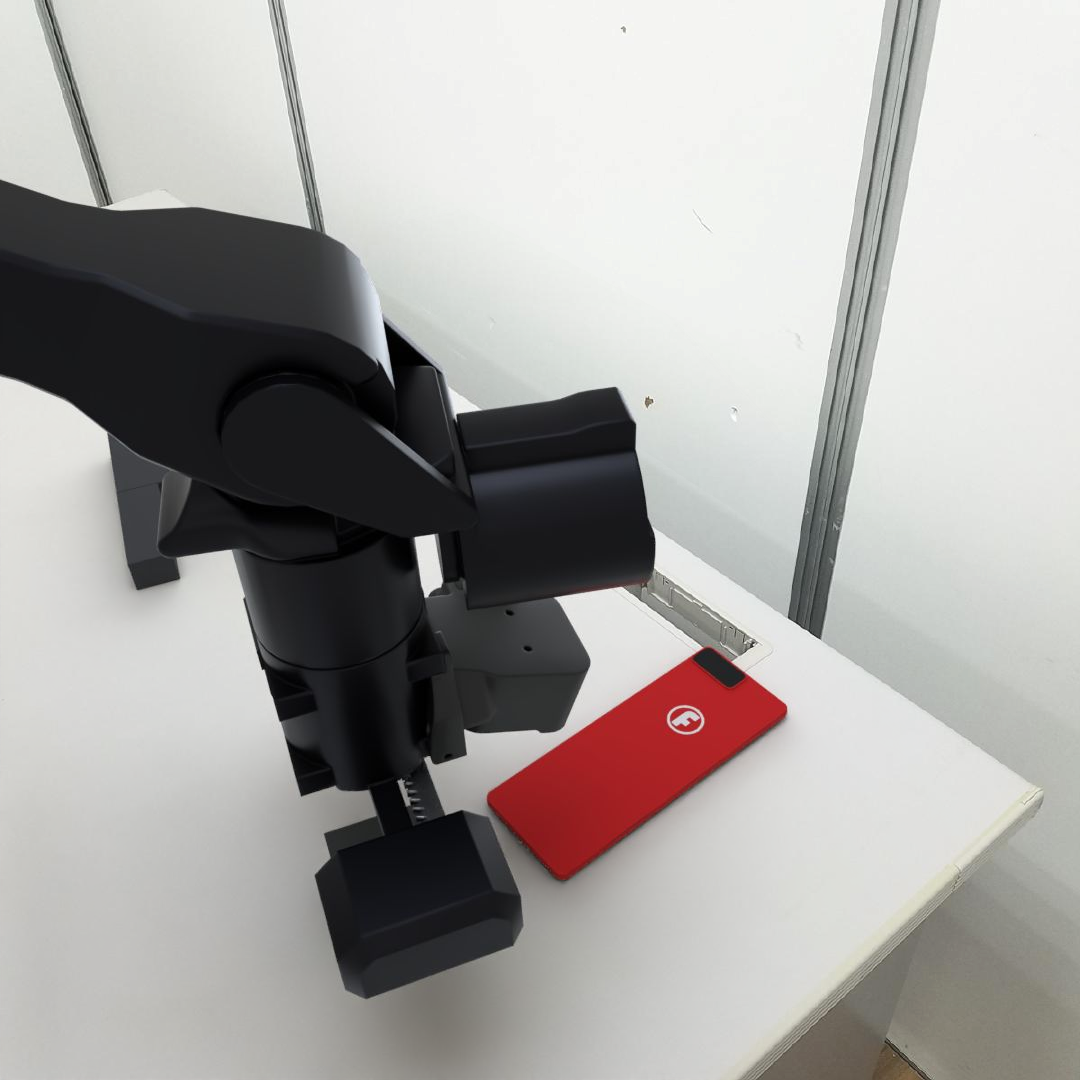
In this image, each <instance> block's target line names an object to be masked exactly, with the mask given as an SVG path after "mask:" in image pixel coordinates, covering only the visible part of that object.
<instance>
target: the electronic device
mask: <svg viewBox="0 0 1080 1080" xmlns="http://www.w3.org/2000/svg"><path fill="white" fill-rule="evenodd" d="M787 715H788V705H787V704H786V702H784V701H782V699H780V698H778V696H776V695H775V694H774V693H772V692H771V691H770V690H768V689H767V688H766V687H764V685H762V684H761V683H759V682H758V681H757V680H755V679H754V678H753V677H752V676H750V675H749V674H747V673H746V671H744V670H742V669H741V668H740V667H739V666H737V665H736V664H735V663H733V662H732V661H731V660H730V659H729V658H728V657H726V656H725V655H723V654H722V653H721V652H720V651H718V650H717V649H715V648H714V647H712V646H705V647H702V648H701V649H699V650H698V651H696V652H695V653H693V654H692V655H690V656H689V657H687V658H686V659H684V660H683V661H681V662H680V663H679V664H677V665H676V666H674V667H672V668H671V669H669V670H668V671H667V672H665V673H664V674H662V675H660V676H659V677H658V678H656V679H655V680H653V681H652V682H650V683H648V684H647V685H646V686H644V687H643V688H641V689H640V690H639V691H637V692H636V693H634V694H632V695H630V696H629V697H628V698H626V699H625V700H623V701H622V702H620V703H619V704H618V705H616V706H615V707H613V708H612V709H610V710H608V711H607V712H606V713H604V714H603V715H601V716H600V717H598V718H597V719H595V720H594V721H592V722H591V723H589V724H588V725H586V726H585V727H583V728H582V729H581V730H579V731H577V732H576V733H574V734H572V736H570V737H568V738H567V739H565V740H563V741H562V742H561V743H560V744H558V745H556V746H555V747H554V748H552V749H551V750H549V751H547V752H546V753H545V754H543V755H541V756H540V757H539V758H537V759H535V760H534V761H532V762H531V763H530V764H528V765H527V766H525V767H524V768H522V769H521V770H519V771H518V772H516V773H515V774H513V775H512V776H510V777H509V778H507V779H506V780H504V781H503V782H501V783H500V784H499V785H497V786H495V787H494V788H492V789H491V790H489V791H488V793H487V795H486V803H487V806H488V808H490V809H491V810H492V811H493V812H494V814H495V815H496V816H497V817H498V818H499V819H500V820H501V821H502V822H503V823H504V824H505V826H506V827H508V829H509V830H511V832H512V833H513V834H514V835H515V836H516V837H517V838H518V839H519V840H520V841H521V843H523V844H524V845H525V847H527V849H528V850H529V851H530V852H531V853H532V854H533V855H534V857H536V859H538V860H539V861H540V862H541V864H542V865H543V866H544V867H545V868H546V869H547V870H548V871H549V872H550V873H551V875H553V876H554V878H556V879H557V880H560V881H566V880H569V879H570V878H571V877H572V876H574V875H576V874H577V873H578V872H579V871H581V870H582V869H583V868H585V867H586V866H588V865H589V864H590V863H592V862H593V861H594V860H595V859H598V857H600V856H601V855H603V853H606V852H607V850H609V849H610V848H612V847H613V846H614V845H616V844H617V843H618V842H620V841H621V840H622V839H624V838H625V837H626V836H628V835H629V834H630V833H632V832H633V831H634V830H636V829H637V828H639V826H641V825H642V824H644V823H645V822H646V821H649V819H650V818H653V816H654V815H656V814H657V813H658V812H660V811H661V810H662V809H664V808H665V807H667V806H668V805H670V804H671V803H672V802H673V801H675V800H676V799H677V798H679V797H680V796H681V795H683V794H685V792H687V791H688V790H689V789H691V788H692V787H694V786H695V785H697V784H698V783H699V782H700V781H701V780H703V779H704V778H706V777H707V776H708V775H710V774H711V773H712V772H714V771H715V770H716V769H718V768H719V767H720V766H722V765H723V764H724V763H726V762H727V761H728V760H730V759H731V758H732V757H734V756H735V755H736V754H738V753H739V752H741V751H742V750H743V749H744V748H746V747H747V746H749V745H750V744H752V743H753V742H754V741H755V740H756V739H758V738H759V737H761V736H762V735H763V734H764V733H767V731H769V730H770V729H771V728H772V727H774V726H775V725H777V724H778V723H780V722H781V721H782V720H784V719H785V718H786V717H787Z"/></svg>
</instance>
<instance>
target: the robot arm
mask: <svg viewBox="0 0 1080 1080" xmlns="http://www.w3.org/2000/svg"><path fill="white" fill-rule="evenodd" d="M0 378H5V379H8V380H12V381H16V382H19V383H21V384H24V385H27V386H29V387H32V388H33V389H36V390H39V391H41V392H44V393H46V394H47V395H48V394H49V395H51V396H53V397H55V398H58V399H60V400H63V401H65V402H66V403H68V404H70V405H72V406H73V407H74V408H75V409H76V410H78V411H79V412H80V413H82V414H83V415H84V416H86V417H87V418H88V419H89V420H91V421H92V422H93V423H94V424H96V425H97V426H98V427H99V428H101V429H102V430H104V431H105V432H106V434H107V433H109V434H110V435H111V436H112V437H114V438H115V439H116V440H118V441H119V442H120V443H121V444H123V445H124V446H125V447H127V448H128V449H129V450H130V451H132V452H133V453H134V454H136V455H137V456H139V457H140V458H142V459H144V460H147V461H149V462H152V463H154V464H157V465H159V466H162V467H164V468H167V469H169V470H170V471H169V472H168V473H167V474H166V475H165V476H164V478H163V482H162V493H161V504H160V515H159V526H158V537H157V550H158V551H159V553H160V554H161V555H162V556H164V557H167V558H176V559H177V558H183V557H190V556H197V555H203V554H204V555H205V554H209V553H216V552H224V551H231V553H232V556H233V559H234V563H235V567H236V570H237V574H238V577H239V581H240V585H241V588H242V591H243V595H244V597H243V598H242V600H243V604H244V608H245V609H244V610H245V612H246V616H247V620H248V624H249V627H250V631H251V635H252V639H253V643H254V647H255V652H256V655H257V658H258V663H259V665H260V668H261V671H264V674H265V677H266V681H267V685H268V689H269V693H270V696H271V697H272V701H273V704H274V708H275V710H276V714H277V718H278V722H279V723H280V726H281V728H282V732H283V735H284V739H285V743H286V748H287V751H288V755H289V758H290V761H291V766H292V770H293V774H294V778H295V781H296V785H297V789H298V792H299V796H300V797H301V798H302V797H304V796H307V795H308V796H309V795H311V794H315V793H318V792H321V791H324V790H327V789H330V788H333V787H335V788H336V789H337V790H338V791H342V792H366V791H368V794H369V796H370V799H371V800H370V801H371V802H372V806H373V809H374V812H375V816H377V818H378V822H379V825H380V828H381V831H382V834H383V836H381V837H378V838H375V839H372V840H369V841H366V842H363V843H360V844H357V845H354V846H351V847H348V848H345V849H342V850H339V851H336V853H335V854H334V855H333V856H332V857H331V858H328V860H327V861H326V862H325V863H324V864H323V865H322V866H321V867H320V868H319V870H318V871H317V872H316V873H315V874H314V880H315V884H316V887H317V890H318V895H319V899H320V902H321V906H322V910H323V913H324V917H325V922H326V925H327V929H328V933H329V937H330V941H331V945H332V949H333V952H334V957H335V961H336V964H337V967H338V971H339V974H340V978H341V981H342V984H343V987H344V990H345V991H346V992H348V993H351V994H353V995H355V996H357V997H359V998H362V999H364V1000H368V999H371V998H374V997H377V996H380V995H382V994H385V993H388V992H391V991H393V990H396V989H398V988H399V989H400V988H401V987H405V986H407V985H411V984H412V983H415V982H418V981H421V980H423V979H426V978H428V977H432V976H435V975H438V974H440V973H443V972H446V971H448V970H451V969H454V968H457V967H460V966H462V965H464V964H468V963H471V962H473V961H476V960H478V959H481V958H484V957H486V956H490V955H493V954H495V953H498V952H500V951H503V950H506V949H508V948H511V947H514V945H515V944H516V942H517V940H518V938H519V936H520V934H521V932H522V930H523V928H524V917H523V916H524V915H523V903H522V895H521V893H520V891H519V888H518V886H517V883H516V880H515V878H514V875H513V873H512V871H511V869H510V866H509V864H508V861H507V859H506V856H505V854H504V851H503V849H502V846H501V844H500V841H499V839H498V837H497V834H496V832H495V829H494V827H493V823H492V822H491V819H490V817H489V816H486V815H482V814H478V813H475V812H472V811H468V810H463V809H460V810H457V811H454V812H452V813H448V814H446V813H445V810H444V808H443V805H442V802H441V800H440V797H439V795H438V791H437V789H436V787H435V783H434V780H433V778H432V776H431V773H430V770H429V768H428V765H427V762H426V759H425V758H428V757H429V758H430V761H431V763H432V764H433V765H435V766H438V765H441V764H444V763H445V764H446V763H447V762H450V761H454V760H457V759H459V758H460V759H461V758H463V757H466V756H468V752H467V751H468V750H467V744H466V735H465V734H466V733H465V731H467V732H470V733H474V734H481V735H482V734H498V733H512V732H528V731H537V732H538V733H540V734H550V733H555V732H558V731H560V730H562V729H563V728H564V727H565V726H566V723H567V721H568V718H569V716H570V713H571V711H572V710H573V707H574V705H575V703H576V700H577V697H578V696H579V693H580V690H581V688H582V686H583V684H584V681H585V679H586V677H587V674H588V672H589V669H590V667H591V658H590V655H589V653H588V651H587V649H586V647H585V646H584V644H583V642H582V640H581V639H580V637H579V635H578V633H577V631H576V629H575V628H574V626H573V624H572V622H571V621H570V619H569V617H568V615H567V613H566V612H565V610H564V608H563V606H562V604H561V603H560V602H559V601H558V599H556V598H559V597H560V598H561V597H567V596H572V595H580V594H585V593H592V592H597V591H605V590H611V589H617V588H623V587H629V586H636V585H643V584H647V583H649V582H650V581H651V580H652V577H653V574H654V571H655V564H656V553H657V552H656V550H657V547H656V546H657V545H656V543H657V542H656V535H655V531H654V529H653V526H652V524H651V521H650V518H649V515H648V514H649V513H648V507H647V498H646V492H645V491H646V490H645V486H644V485H645V484H644V480H643V479H644V478H643V475H642V469H641V465H640V461H639V456H638V453H637V450H636V449H637V422H636V420H635V417H634V416H633V413H632V411H631V409H630V406H629V404H628V402H627V399H626V397H625V395H624V392H623V391H622V390H621V388H619V387H617V386H609V387H602V388H596V389H595V388H594V389H587V390H582V391H577V392H575V393H572V394H569V395H566V396H564V397H561V398H556V399H551V400H545V401H538V402H531V403H525V404H517V405H508V406H503V407H502V406H501V407H494V408H487V409H480V410H472V411H464V412H459V413H455V409H454V405H453V401H452V397H451V393H450V392H451V391H450V388H449V384H448V380H447V375H446V371H445V368H444V367H443V366H442V365H441V364H440V363H439V362H438V361H436V360H435V359H434V358H433V357H432V356H431V355H430V354H429V353H428V352H426V351H425V350H424V349H423V348H422V347H421V346H419V344H417V343H416V342H415V341H414V340H413V339H412V338H411V337H410V336H409V335H407V333H405V332H404V331H403V330H402V329H401V328H399V326H397V325H396V324H395V323H394V322H393V321H392V320H391V319H389V317H387V316H386V315H385V314H384V313H383V312H382V307H381V302H380V296H379V294H378V291H377V290H376V287H375V285H374V283H373V282H372V279H371V277H370V275H369V273H368V270H367V269H366V268H365V267H364V265H363V262H362V261H361V258H360V257H359V256H358V255H357V254H355V253H354V251H352V250H351V249H350V248H349V247H348V246H347V245H345V243H342V242H341V241H339V240H338V239H335V238H333V237H331V236H330V235H328V234H326V233H324V232H322V231H320V230H317V229H314V228H310V227H307V226H306V227H305V226H302V225H297V224H291V223H287V222H282V221H276V220H271V219H265V218H260V217H254V216H249V215H244V214H239V213H233V212H228V211H223V210H217V209H211V208H206V207H200V206H185V207H184V206H183V207H165V208H164V207H163V208H145V209H125V210H124V209H123V210H120V209H110V208H104V207H100V206H99V207H98V206H93V205H87V204H82V203H76V202H71V201H67V200H63V199H60V198H57V197H54V196H51V195H48V194H45V193H42V192H39V191H36V190H33V189H31V188H28V187H24V186H21V185H18V184H15V183H13V182H9V181H7V180H4V179H1V178H0ZM432 535H434V539H435V547H436V553H437V559H438V565H439V569H440V574H441V580H442V583H441V586H440V587H436V588H434V589H433V590H431V592H430V593H429V594H428V596H426V597H425V592H424V589H423V585H422V580H421V572H420V565H419V559H418V552H417V543H416V538H419V537H425V536H432ZM400 780H401V781H402V783H403V787H404V789H405V791H406V796H407V798H409V799H408V800H409V805H411V806H413V807H412V809H413V813H414V815H415V814H417V815H416V816H415V817H416V822H417V823H420V824H417V825H414V826H413V824H412V822H411V819H410V816H409V813H408V810H407V807H406V806H407V804H406V802H405V799H404V796H403V793H402V790H401V787H400V783H399V781H400Z"/></svg>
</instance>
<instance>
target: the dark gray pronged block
mask: <svg viewBox="0 0 1080 1080" xmlns="http://www.w3.org/2000/svg"><path fill="white" fill-rule="evenodd" d="M106 435H107V441H108V442H107V443H108V447H109V454H110V459H111V465H112V473H113V479H114V486H115V493H116V499H117V507H118V513H119V519H120V525H121V533H122V538H123V539H122V540H123V545H124V552H125V557H126V563H127V565H126V566H127V568H128V570H129V573H130V575H131V578H132V581H133V583H134V586H135V589H136V590H141V589H145V588H149V587H153V586H156V585H161V584H164V583H168V582H171V581H176V580H179V579H181V575H180V569H179V565H178V560H177V558H167V557H164V556H162V555H161V554H160V553H159V551H158V550H157V537H158V526H159V515H160V504H161V493H162V482H163V478H164V476H165V475H166V474H167V473H168V472H169V471H170V470H169V469H167V468H164V467H162V466H159V465H157V464H154V463H152V462H149V461H147V460H144V459H142V458H140V457H139V456H137V455H136V454H134V453H133V452H132V451H130V450H129V449H128V448H127V447H125V446H124V445H123V444H121V443H120V442H119V441H118V440H116V439H115V438H114V437H112V436H111V435H110V434H109V433H107V432H106Z"/></svg>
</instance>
